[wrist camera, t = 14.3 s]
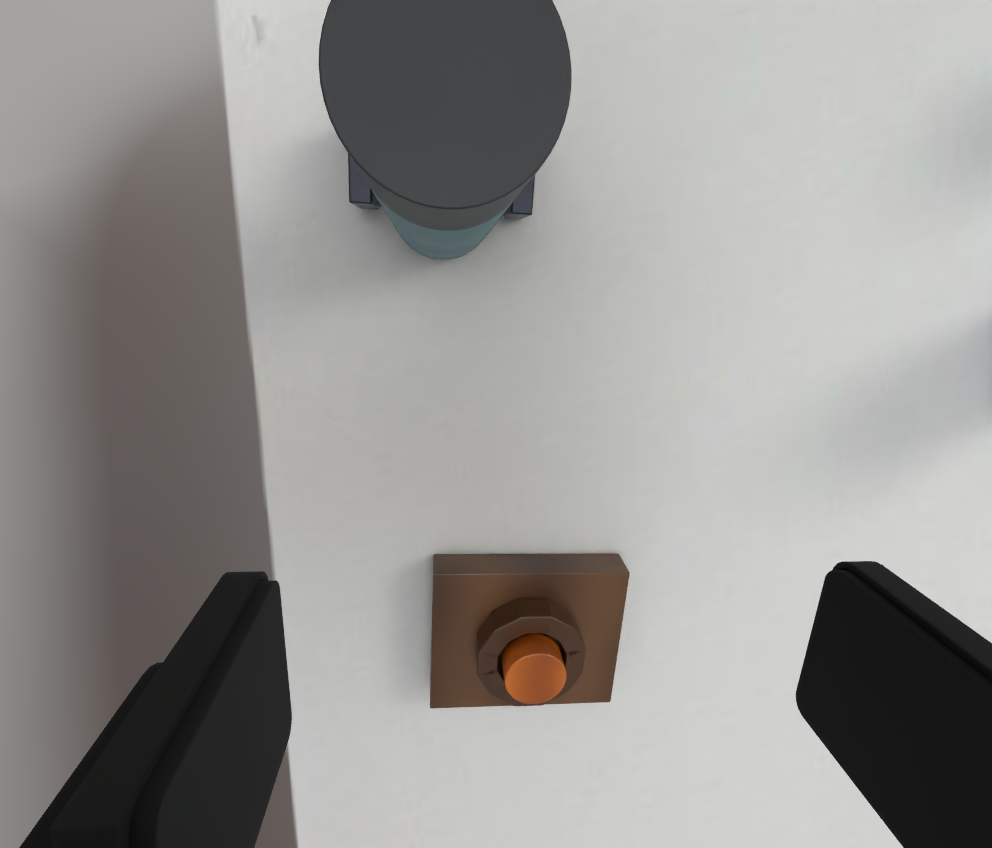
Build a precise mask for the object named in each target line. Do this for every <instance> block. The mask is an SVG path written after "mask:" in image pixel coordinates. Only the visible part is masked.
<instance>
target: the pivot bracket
mask: <svg viewBox="0 0 992 848" xmlns="http://www.w3.org/2000/svg"><path fill="white" fill-rule="evenodd" d="M348 165H349V201H350V203H352V204H354V205H356V206H358V207H360V208H369V209H378V208H379V201H378V199H377V198H376V196H375V195H374V193H373V191H372V190H371V188H370V187H369V185H368V183H367V182H366V180H365V179H364V177H363V176H362V174H361V172H360V171H359V169H358V168H357V166H356V164H355V163H354V161H353V160H352V158H351V157H350V155H349V153H348ZM534 179H535V175H534V176H533V177H532V178H531V180H530V181H529V182H528V183H527V185H526V186H525V187H524V188H523V190H522V191H521V192H520V193H519V195H518V196H517V197H516V198H515V200H514V201H513V202H512V203H511V205H510V206H509V207H508V208H507V210H506V211H505V212H504V217H505V218H520V219H521V218H524V217H527V216H529V215H532V207H533V193H534Z"/></svg>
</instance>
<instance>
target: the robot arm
mask: <svg viewBox="0 0 992 848" xmlns="http://www.w3.org/2000/svg"><path fill="white" fill-rule="evenodd" d="M796 702H797V706H798V709H799V711H800V713H801V715H802V716H803V718H804V719H805V720H806V722H807V723H808V724H809V725H810V727H811V728H812V729H813V731H814V732H815V733H816V735H817V736H818V737H819V738H820V740H821V741H822V742H823V744H824V745H825V746H826V748H827V749H828V750H829V751H830V753H831V754H832V755H833V757H834V758H835V759H836V760H837V762H838V763H839V764H840V766H841V767H842V768H843V770H844V771H845V772H846V773H847V775H848V776H849V777H850V779H851V780H852V781H853V783H854V784H855V785H856V786H857V788H858V789H859V790H860V792H861V793H862V794H863V795H864V797H865V798H866V799H867V801H868V802H869V803H870V805H871V806H872V807H873V808H874V810H875V811H876V812H877V814H878V815H879V816H880V818H881V819H882V820H883V821H884V823H885V824H886V825H887V827H888V828H889V829H890V831H891V832H892V833H893V834H894V836H895V837H896V838H897V840H898V841H899V842H900V843H901V845H902V846H903V847H904V848H992V643H990V642H989V641H988V640H986V639H985V638H983V637H982V636H981V635H979V634H978V633H976V632H975V631H974V630H972V629H971V628H969V627H968V626H967V625H965V624H964V623H962V622H961V621H960V620H958V619H957V618H955V617H954V616H953V615H951V614H950V613H948V612H947V611H946V610H944V609H943V608H941V607H940V606H939V605H937V604H936V603H934V602H933V601H932V600H930V599H929V598H927V597H926V596H925V595H923V594H922V593H920V592H919V591H918V590H916V589H915V588H913V587H912V586H911V585H909V584H908V583H907V582H905V581H904V580H902V579H901V578H900V577H898V576H897V575H895V574H894V573H893V572H891V571H890V570H888V569H887V568H886V567H884V566H883V565H881V564H879V563H877V562H872V561H860V562H840V563H838V564H837V565H836V566H835V567H834V568H833V570H832V571H830V572H829V573H828V574H827V575H826V577H825V580H824V584H823V588H822V592H821V596H820V600H819V604H818V608H817V612H816V616H815V620H814V624H813V628H812V631H811V635H810V639H809V643H808V647H807V651H806V655H805V659H804V663H803V667H802V671H801V675H800V679H799V683H798V687H797V691H796ZM291 720H292V712H291V702H290V691H289V680H288V670H287V659H286V648H285V638H284V627H283V616H282V606H281V595H280V587H279V583H278V582H277V581H268V577H267V575H266V573H265V572H227V573H225V574H224V575H223V576H222V577H221V579H220V580H219V582H218V583H217V585H216V586H215V588H214V589H213V590H212V592H211V593H210V595H209V596H208V598H207V599H206V601H205V602H204V604H203V605H202V607H201V608H200V609H199V611H198V612H197V614H196V615H195V617H194V618H193V620H192V621H191V623H190V624H189V626H188V627H187V628H186V630H185V631H184V633H183V634H182V636H181V637H180V639H179V640H178V642H177V643H176V645H175V646H174V648H173V649H172V650H171V652H170V653H169V655H168V656H167V658H166V659H165V661H164V662H163V663H156V664H154V665H152V666H150V667H149V669H148V670H147V671H146V672H145V673H144V674H143V675H142V677H141V678H140V679H139V681H138V682H137V684H136V685H135V686H134V688H133V689H132V691H131V692H130V694H129V695H128V696H127V698H126V699H125V700H124V702H123V703H122V705H121V706H120V707H119V709H118V710H117V712H116V713H115V714H114V716H113V717H112V719H111V720H110V721H109V723H108V724H107V726H106V727H105V728H104V730H103V731H102V733H101V734H100V735H99V737H98V738H97V740H96V741H95V743H94V744H93V746H92V747H91V748H90V750H89V751H88V752H87V754H86V755H85V757H84V758H83V759H82V761H81V762H80V764H79V765H78V766H77V768H76V769H75V771H74V772H73V773H72V775H71V776H70V778H69V779H68V780H67V782H66V783H65V785H64V786H63V788H62V789H61V790H60V792H59V793H58V794H57V796H56V797H55V799H54V800H53V802H52V803H51V804H50V806H49V807H48V809H47V810H46V811H45V813H44V814H43V815H42V817H41V818H40V820H39V821H38V822H37V824H36V825H35V827H34V828H33V830H32V831H31V832H30V834H29V835H28V837H27V838H26V840H25V841H24V842H23V844H22V845H21V846H20V848H254V846H255V843H256V840H257V837H258V834H259V831H260V828H261V824H262V821H263V818H264V815H265V812H266V809H267V806H268V802H269V799H270V796H271V793H272V790H273V787H274V783H275V781H276V777H277V774H278V771H279V768H280V765H281V762H282V758H283V755H284V752H285V749H286V746H287V743H288V739H289V736H290V730H291Z"/></svg>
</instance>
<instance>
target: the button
mask: <svg viewBox="0 0 992 848" xmlns="http://www.w3.org/2000/svg"><path fill="white" fill-rule="evenodd" d="M502 668H503V674H504V681H505V686H506V689H507V691H508V693H509V694H510V695H511V696H512V697H513V698H514V699H516V700H517V701H519V702H522V703H526V704H538V703H543V702H546V701H548V700H550V699H552V698H554V697H555V696H556V695H557V694H558V693H559V692H560V691H561V690H562V688H563V687H564V685H565V682H566V675H567V674H566V669H565V666H564V662H563V659H562V656H561V652H560V649H559V647H558V645H557V644H556V643H555V642H554V641H553V640H552V639H551V638H549V637H547V636H545V635H541V634H527V635H523V636H521V637H518V638H516V639H515V640H513V641H512V642H511V643H510V644H509V645H508V646H507V647H506V649H505V651H504V653H503V656H502Z"/></svg>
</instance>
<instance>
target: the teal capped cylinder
mask: <svg viewBox="0 0 992 848" xmlns="http://www.w3.org/2000/svg"><path fill="white" fill-rule="evenodd" d="M319 73H320V84H321V88H322V93H323V98H324V102H325V105H326V109H327V112H328V115H329V118H330V120H331V122H332V125H333V127H334V129H335V131H336V133H337V135H338V137H339V139H340V140H341V142H342V144H343V145H344V147H345V149H346V150H347V152H348V153H349V155H350V157H351V158H352V160H353V161H354V163H355V164H356V166H357V168H358V169H359V171H360V172H361V174H362V176H363V177H364V179H365V180H366V182H367V183H368V185H369V187H370V188H371V190H372V191H373V193H374V195H375V196H376V198H377V199H378V201H379V202H380V204H381V206H382V207H383V209H384V210H385V212H386V214H387V215H388V217H389V218H390V220H391V222H392V223H393V225H394V226H395V228H396V229H397V231H398V233H399V234H400V236H401V237H402V238H403V240H404V241H405V242H406V243H407V244H408V245H409V246H410V247H411V248H413V249H414V250H415V251H417V252H418V253H420V254H422V255H425V256H427V257H430V258H434V259H453V258H457V257H460V256H463V255H465V254H467V253H468V252H470V251H472V250H473V249H474V248H475V247H476V246H477V245H478V244H479V243H480V242H481V241H482V240H483V239H484V237H485V236H486V235H487V234H488V232H489V231H490V230H491V229H492V227H493V226H494V225H495V224H496V222H497V221H498V220H499V219H500V217H501V216H502V215H503V214H504V212H505V211H506V210H507V208H508V207H509V206H510V205H511V203H512V202H513V201H514V200H515V198H516V197H517V196H518V195H519V193H520V192H521V191H522V190H523V188H524V187H525V186H526V185H527V183H528V182H529V181H530V180H531V178H532V177H533V176H534V175H535V173H536V172H537V171H538V170H539V168H540V167H541V166H542V164H543V163H544V162H545V160H546V159H547V157H548V156H549V154H550V153H551V151H552V149H553V147H554V146H555V144H556V142H557V140H558V138H559V135H560V133H561V130H562V127H563V125H564V122H565V118H566V114H567V110H568V106H569V100H570V92H571V62H570V52H569V47H568V42H567V38H566V33H565V30H564V27H563V25H562V22H561V19H560V16H559V14H558V12H557V10H556V7H555V5H554V3H553V1H552V0H331V2H330V4H329V7H328V9H327V13H326V16H325V19H324V23H323V26H322V32H321V38H320V45H319Z"/></svg>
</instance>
